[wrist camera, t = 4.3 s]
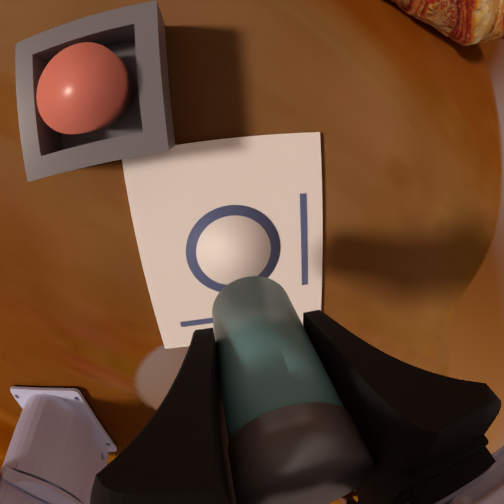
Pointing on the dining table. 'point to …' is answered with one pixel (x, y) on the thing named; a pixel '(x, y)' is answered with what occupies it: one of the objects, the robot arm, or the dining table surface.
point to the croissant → (460, 18)
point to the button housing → (134, 119)
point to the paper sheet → (227, 223)
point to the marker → (281, 403)
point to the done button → (84, 89)
